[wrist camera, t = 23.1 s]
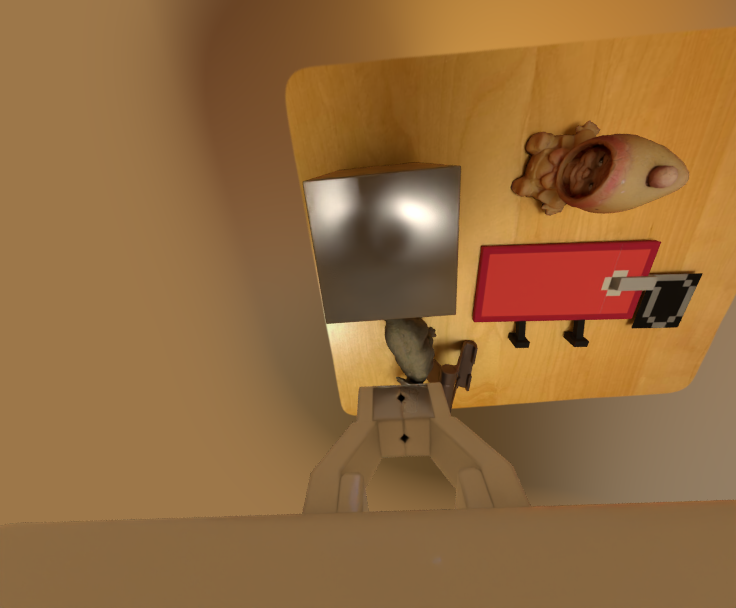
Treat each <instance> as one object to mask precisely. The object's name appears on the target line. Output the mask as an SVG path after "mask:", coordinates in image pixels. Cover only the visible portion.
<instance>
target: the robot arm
mask: <svg viewBox="0 0 736 608" xmlns="http://www.w3.org/2000/svg"><path fill="white" fill-rule="evenodd" d="M401 456H430V458H431V459H432V460H433V461H434V463H435V464H436V465H437V467H438V468H439V469H440V470H441V472H442V473H443V474H444V475H445V477H446V478H447V479H448V480H449V482H450V483H451V484H452V486H453V487H454V488H455V489H456V501H455V509H442V510H412V511H411V510H410V511H380V512H369V509H368V502H367V496H366V490H365V489H366V487H367V485H368V483H369V482H370V480H371V478H372V476H373V474H374V472H375V471H376V469H377V467H378V465H379V463H380V461H381V458H388V457H401ZM0 608H736V500H714V501H685V502H656V503H655V502H653V503H626V504H625V503H624V504H623V503H622V504H593V505H592V504H591V505H560V506H533V507H532V506H531V505H530V503H529V501H528V498H527V496H526V494H525V492H524V490H523V487H522V485H521V483H520V481H519V478H518V476H517V474H516V472H515V469H514V467H513V465H512V464H511V463H509V462H508V461H507V460H506V459H505V458H503V457H502V456H501V455H500V454H499V453H498V452H497V451H495V450H494V449H493V448H492V447H490V446H489V445H488V444H487V443H486V442H485V441H483V440H482V439H481V438H480V437H479V436H478V435H476V434H475V433H474V432H473V431H471V430H470V429H469V428H468V427H467V426H466V425H465V424H463V423H462V422H461V421H460V420H459V419H457V418H456V417H451V414H450V411H449V407H448V404H447V401H446V397H445V394H444V391H443V387H442V384H441V383H440V382H437V383H426V384H410V385H393V386H373V387H360V388H359V395H358V410H357V422H352V424H351V425H350V426H349V427H348V428H347V430H346V431H345V432H344V433H343V434H342V436H341V437H340V438H339V439H338V441H337V442H336V443H335V444H334V445H333V447H332V448H331V449H330V450H329V451H328V453H327V454H326V455H325V456H324V457H323V459H322V460H321V461H320V462H319V463H318V465H317V466H316V467H315V468H314V469H313V471H312V472H311V474H310V479H309V483H308V489H307V493H306V498H305V503H304V508H303V513H302V514H287V515H255V516H224V517H194V518H162V519H131V520H103V521H102V520H101V521H73V522H72V521H71V522H44V523H43V522H36V523H11V524H5V525H1V526H0Z"/></svg>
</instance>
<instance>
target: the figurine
mask: <svg viewBox="0 0 736 608" xmlns="http://www.w3.org/2000/svg"><path fill="white" fill-rule="evenodd" d="M599 131H600V129H599V128H598V127H597V125H595V124H594V123H593V122H591V121H588V122H586V123H585V124H584V126H577V127H576V134H575V135H556V136H554V135H553V134H551V133H546V132H539V133H536V134H534V135H533V136H532V137H531V138H530V140H528V141H527V144H526V151H527V152H528V154H530V155H531V157H530V159H529V162H528V164H527V165H526V171H525V173H524V176H523V177H521V178H519V179H517V180H515V181H513V182H512V186H511V189H512V190H513V192H514V193H516V194H518V195H519V196H526V197H530V196H532V197H534V198H535V199H538V200H540V201H541V202H542V203H543V204H542V207H541V209H544V210H545V214H546V215H552V214H556V213H557V212H561V211H562V210H563V207H564V206H565V205H566V204H568V205H570V206H571V207H577V208H580V209H582V210H584V211H588V212H593V213H616V212H622V211H626V210H630V209H633V208H636V207H638V206H641V205H644V204H646V203H649V202H651V201H654V200H656V199H659V198H661V197H663V196H666V195H668V194H671V193H673V192H675V191H677V190H678V189H680V188H681V187H683V186H684V185H685V184H686V183H687V181H688V180H689V171H688V170H687V168H686V166H685V164H684V163H683V161H682V160H681V159H679V158H678V157H677V156H676V155H675V154H674V153H673V152H671V151H670V150H669V149H668V148H666V147H665V146H663V145H660V144H657V143H655V142H653V141H651V140H648V139H646V138H643V137H640V136H638V135H631V134H613V135H606V136H605V135H602V136H599V137H595V136H596V134H598V133H599Z"/></svg>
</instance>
